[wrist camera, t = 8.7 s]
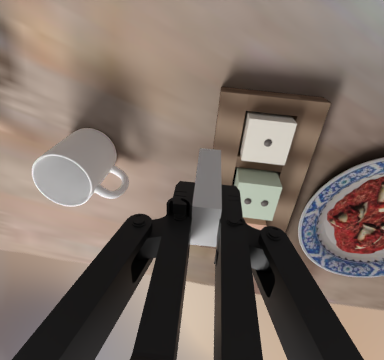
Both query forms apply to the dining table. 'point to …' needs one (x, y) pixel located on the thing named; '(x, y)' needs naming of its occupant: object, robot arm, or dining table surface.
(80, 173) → the cup
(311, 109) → the button board
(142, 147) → the dining table surface
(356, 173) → the ceramic plate
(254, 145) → the tile one
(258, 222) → the tile three
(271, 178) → the tile two
